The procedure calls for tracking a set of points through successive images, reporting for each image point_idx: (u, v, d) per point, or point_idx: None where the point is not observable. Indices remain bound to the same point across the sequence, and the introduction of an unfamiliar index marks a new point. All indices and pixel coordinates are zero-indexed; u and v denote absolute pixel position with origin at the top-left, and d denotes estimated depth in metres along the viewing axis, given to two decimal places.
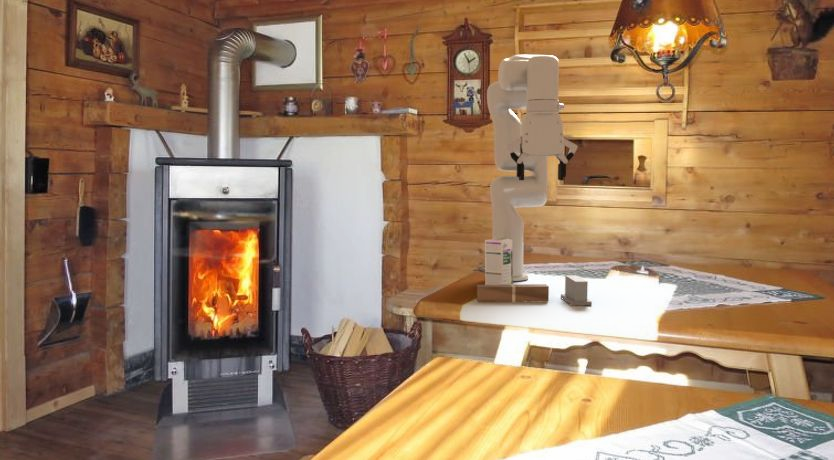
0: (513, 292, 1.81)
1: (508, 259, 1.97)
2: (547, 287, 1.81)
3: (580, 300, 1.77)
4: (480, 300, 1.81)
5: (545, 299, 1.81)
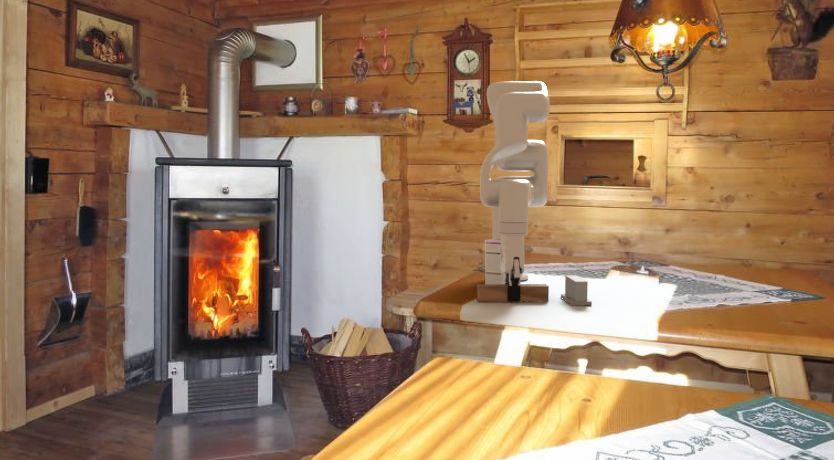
0: None
1: None
2: (547, 287, 1.81)
3: (580, 300, 1.77)
4: (480, 300, 1.81)
5: (545, 299, 1.81)
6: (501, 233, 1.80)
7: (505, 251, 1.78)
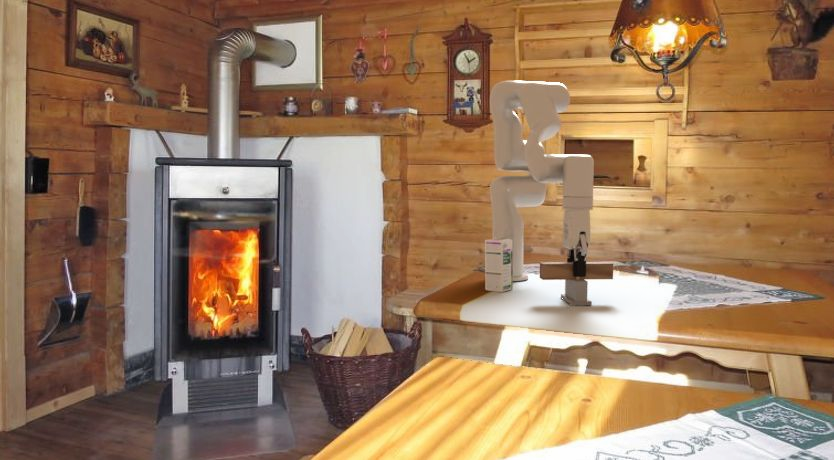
0: None
1: (508, 259, 1.97)
2: (612, 264, 1.79)
3: (580, 300, 1.77)
4: (544, 277, 1.79)
5: (609, 276, 1.80)
6: (566, 208, 1.78)
7: (571, 226, 1.76)
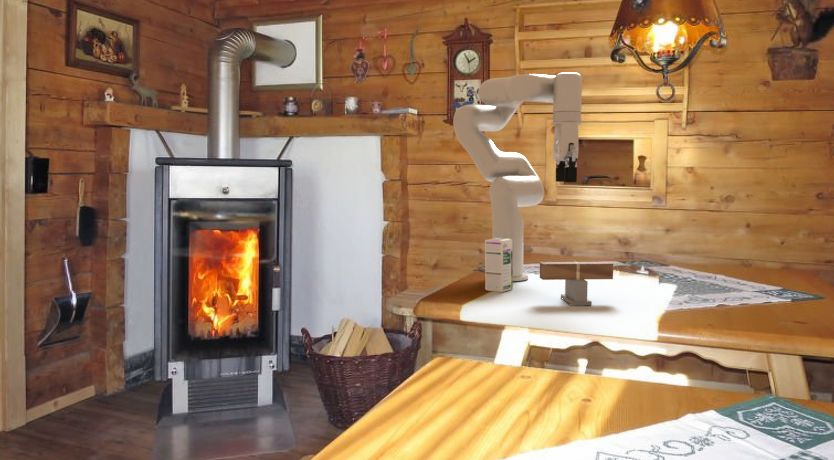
0: (577, 269, 1.79)
1: (508, 259, 1.97)
2: (612, 264, 1.79)
3: (580, 300, 1.77)
4: (544, 277, 1.79)
5: (609, 276, 1.80)
6: (556, 122, 1.92)
7: (560, 138, 1.90)
